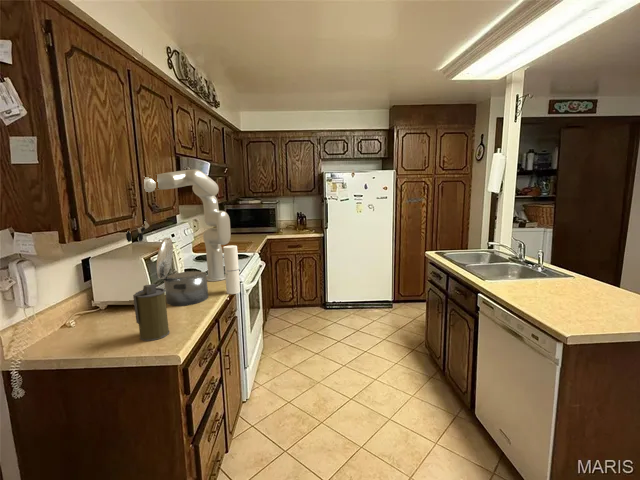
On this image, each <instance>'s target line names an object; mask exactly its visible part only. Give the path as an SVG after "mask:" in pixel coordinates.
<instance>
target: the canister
mask: <svg viewBox="0 0 640 480" xmlns="http://www.w3.org/2000/svg"><path fill="white" fill-rule="evenodd" d="M133 305H134V312H135V313H134V314H135V321H136V324H138V329H139V340H140V341H144V342H151V341H152V342H153V341H157V340H160V339H163V338H165V337H168V335H169V334H170V328H169V319H168V313H167V312H168V311H167V303H166V293H165V288H161V287H158V284H157V283H150V284H145V285H143V288H142V290H139V291H137V292H135V293H134V294H133Z"/></svg>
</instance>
